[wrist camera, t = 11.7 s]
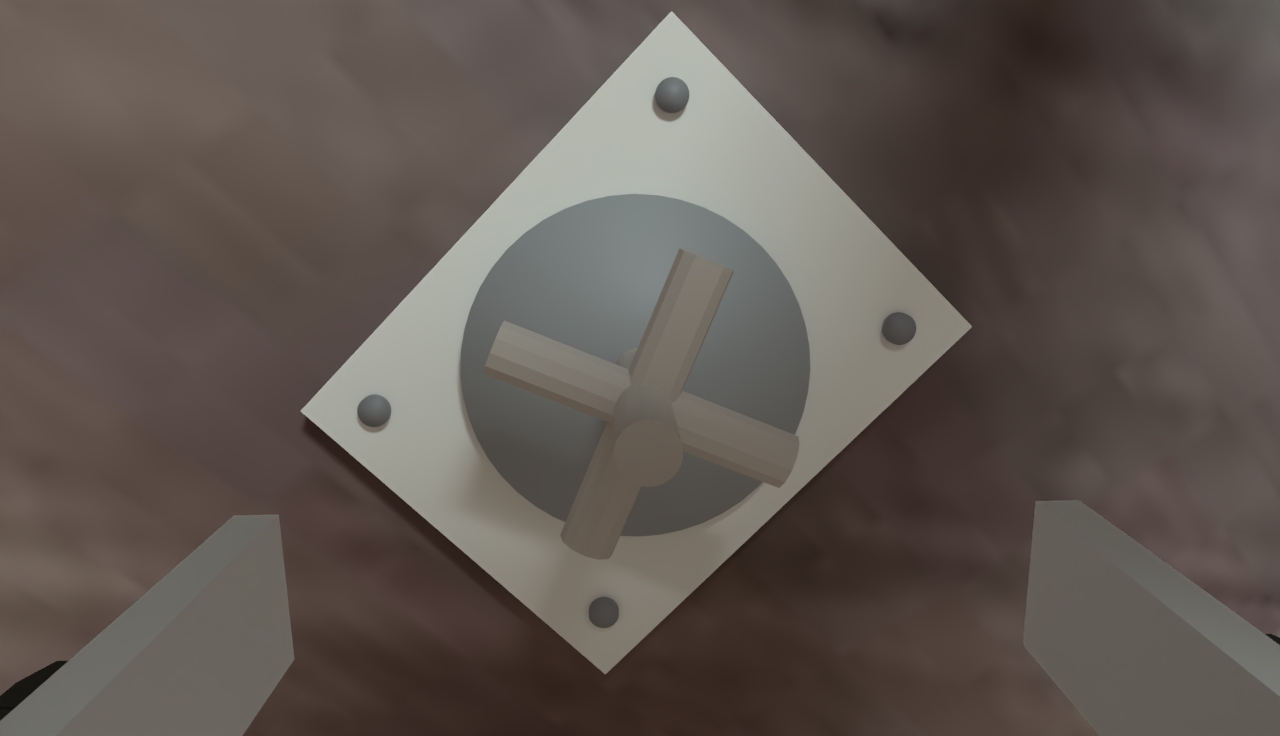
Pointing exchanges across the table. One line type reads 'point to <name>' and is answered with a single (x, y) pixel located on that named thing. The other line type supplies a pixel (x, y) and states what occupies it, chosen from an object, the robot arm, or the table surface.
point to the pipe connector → (644, 405)
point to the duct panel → (636, 341)
